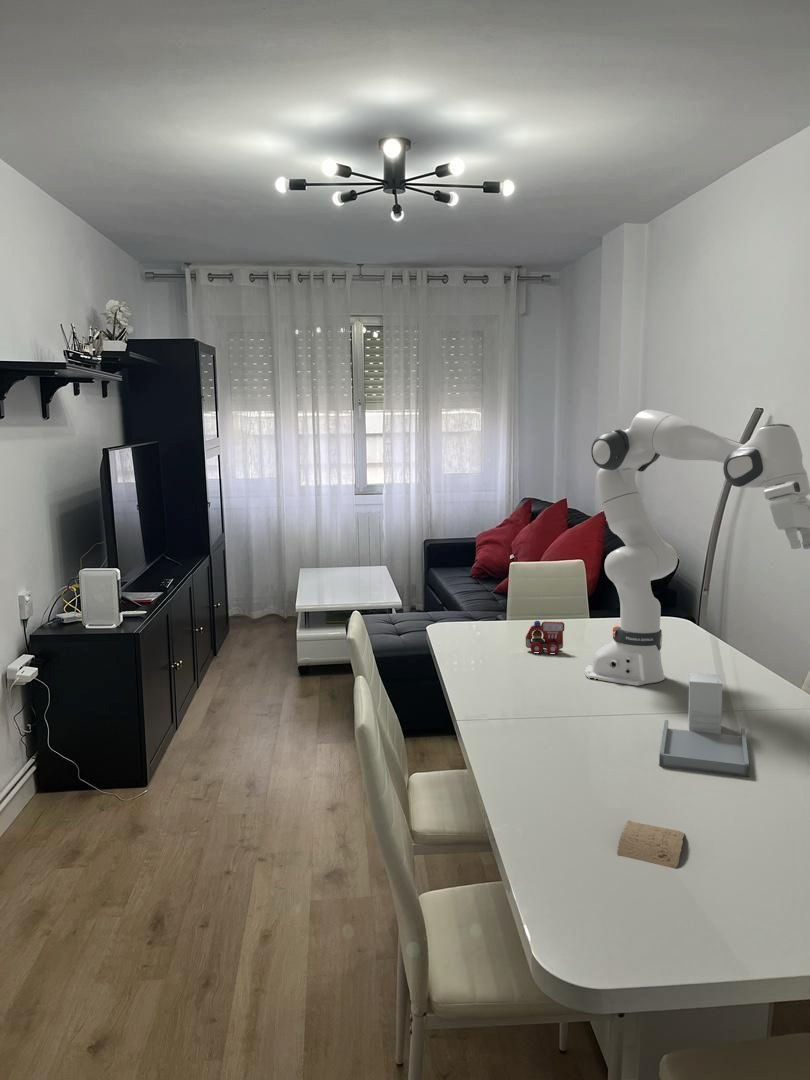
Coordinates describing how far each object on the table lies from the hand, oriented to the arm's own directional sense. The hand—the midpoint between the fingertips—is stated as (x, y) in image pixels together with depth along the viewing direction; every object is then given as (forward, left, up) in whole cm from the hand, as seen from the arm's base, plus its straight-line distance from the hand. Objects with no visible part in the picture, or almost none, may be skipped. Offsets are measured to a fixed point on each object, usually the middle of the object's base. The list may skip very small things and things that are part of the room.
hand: (802, 548), depth 183 cm
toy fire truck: (-69, +50, -44) cm, 96 cm away
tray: (-20, -20, -44) cm, 52 cm away
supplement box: (-20, -5, -44) cm, 48 cm away
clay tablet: (-28, -65, -44) cm, 84 cm away
